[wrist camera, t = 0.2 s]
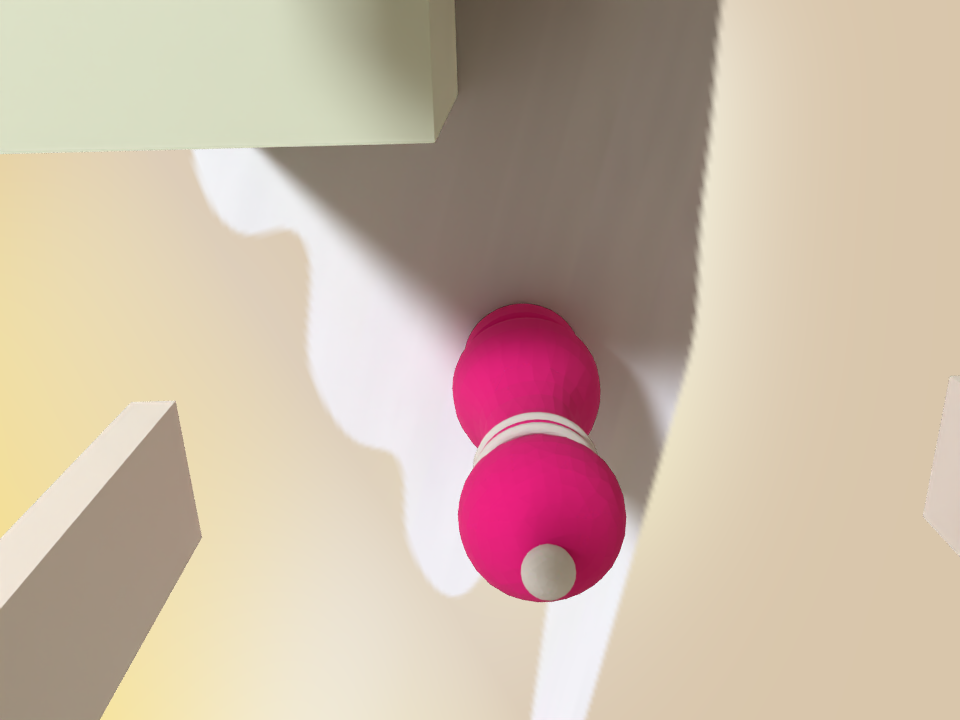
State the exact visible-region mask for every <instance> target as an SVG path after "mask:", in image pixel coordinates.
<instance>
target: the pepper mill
mask: <svg viewBox="0 0 960 720" xmlns="http://www.w3.org/2000/svg"><path fill="white" fill-rule="evenodd" d="M452 389H453V398H454V404H455V409H456V414H457V417H458V420H459V422H460V424H461V426H462V428H463V430H464V431H465V433H466V434H467V436H468V437H469V438H470V440H471V441H472V443H473V444H474V445H475V446H476V447H477V448H478V449H477V451H476V454H475V457H474V462H473V470H472V471H471V473H470V475H469V476H468V478H467V480H466V481H465V484H464V487H463V490H462V493H461V497H460V502H459V510H458V521H459V531H460V535H461V540H462V543H463V546H464V548H465V551H466V554H467V556H468V557H469V559H470V561H471V562H472V564H473V566H474V567H475V569H476V570H477V571H478V572H479V573H480V574H481V575H482V576H483V577H484V578H485V579H486V580H487V582H488V583H489V584H490V585H492V586H494V587H495V588H497V589H499V590H500V591H502V592H504V593H505V594H507V595H509V596H513V597H516V598H519V599H522V600H528V601H534V602H553V601H558V600H563V599H567V598H570V597H572V596H575V595H578V594H580V593H582V592H583V591H585V590H587V589H589V588H590V587H592V586H593V585H595V584H596V583H597V582H598V581H599V580H600V579H602V578H603V576H604V575H605V574H606V573H607V572H608V571H609V570H610V569H611V567H612V566H613V564H614V562H615V560H616V558H617V556H618V554H619V552H620V549H621V546H622V543H623V540H624V536H625V527H626V512H625V504H624V497H623V494H622V491H621V489H620V486H619V484H618V481H617V479H616V477H615V475H614V474H613V472H612V471H611V469H610V468H609V467H608V465H607V464H606V463H605V461H604V460H603V459H601V458H600V457H599V456H598V455H597V452H596V449H595V446H594V444H593V443H592V441H591V439H590V438H589V437H588V435H589V433H590V431H591V429H592V427H593V424H594V422H595V419H596V416H597V413H598V409H599V404H600V383H599V375H598V371H597V366H596V364H595V361H594V359H593V356H592V355H591V353H590V352H589V350H588V348H587V347H586V346H585V344H584V343H583V342H582V341H581V340H580V339H579V338H578V337H577V336H576V335H575V333H574V332H573V330H572V328H571V327H570V326H569V324H568V323H567V322H566V321H565V320H564V319H563V318H562V317H561V316H559V315H558V314H556V313H555V312H553V311H551V310H549V309H547V308H544V307H542V306H538V305H533V304H514V305H508V306H505V307H502V308H499V309H497V310H495V311H493V312H491V313H490V314H488V315H487V316H486V317H484V318H483V319H482V320H481V321H480V322H479V323H478V324H477V325H476V327H475V328H474V329H473V331H472V332H471V334H470V336H469V338H468V341H467V344H466V348H465V350H464V351H463V353H462V354H461V356H460V359H459V361H458V363H457V366H456V368H455V373H454V377H453V388H452Z"/></svg>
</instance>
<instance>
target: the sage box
mask: <svg viewBox="0 0 960 720" xmlns="http://www.w3.org/2000/svg"><path fill="white" fill-rule="evenodd" d="M457 96H458V82H457V52H456V21H455V0H0V154H20V153H58V152H98V151H99V152H100V151H138V150H178V149H220V148H259V147H299V146H339V145H379V144H419V143H435V142H436V140H437V138H438V135H439V133H440V131H441V129H442V127H443V125H444V123H445V121H446V119H447V117H448V115H449V113H450V111H451V109H452V106H453V104H454V102H455V100H456V98H457Z"/></svg>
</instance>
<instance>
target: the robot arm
mask: <svg viewBox="0 0 960 720" xmlns="http://www.w3.org/2000/svg"><path fill="white" fill-rule="evenodd" d="M923 517H924V518H925V519H926V520H927V521H928V523H929V524H930V525H931V526H932V527H933V528H934V529H935V530H936V531H937V532H938V534H939V535H941V537H942V538H943V539H944V540H945V541H946V542H947V543H948V544H949V546H950V547H951V548H952V549H953V550H954V551H955V552H956V553H957V554H958V555H959V557H960V376H950V378H949V383H948V388H947V393H946V398H945V403H944V409H943V414H942V419H941V425H940V430H939V435H938V440H937V445H936V450H935V456H934V461H933V466H932V471H931V477H930V482H929V487H928V492H927V497H926V503H925V508H924V514H923ZM201 538H202V536H201V531H200V525H199V521H198V515H197V510H196V505H195V500H194V494H193V490H192V484H191V479H190V474H189V468H188V463H187V458H186V453H185V447H184V442H183V437H182V432H181V427H180V422H179V416H178V411H177V406H176V401H155V402H131V403H130V404H129V405H128V406H127V407H126V408H125V409H124V410H123V411H122V412H121V413H120V415H118V416H117V418H116V419H115V420H114V421H113V422H112V423H111V424H110V425H109V426H108V427H107V428H106V429H105V430H104V431H103V432H102V433H101V434H100V435H99V436H98V437H97V438H96V439H95V441H93V442H92V444H91V445H90V446H89V447H88V448H87V449H86V450H85V451H84V452H83V453H82V454H81V455H80V456H79V457H78V458H77V459H76V460H75V461H74V462H73V463H72V464H71V466H69V468H68V469H67V470H66V471H65V472H64V473H63V474H62V475H61V476H60V477H59V478H58V479H57V480H56V481H55V482H54V483H53V484H52V485H51V486H50V487H49V488H48V489H47V490H46V491H45V493H44V494H43V495H42V496H41V497H40V498H39V499H38V500H37V501H36V502H35V503H34V504H33V505H32V506H31V507H30V508H29V509H28V510H27V511H26V513H24V515H23V516H22V517H21V518H20V519H19V520H18V521H17V522H16V523H15V524H14V525H13V526H12V527H11V528H10V529H9V530H8V531H7V532H6V533H5V534H4V535H3V536H2V538H1V539H0V720H100V718H101V716H102V715H103V713H104V711H105V709H106V707H107V706H108V704H109V702H110V700H111V699H112V697H113V695H114V693H115V691H116V690H117V688H118V686H119V684H120V682H121V681H122V679H123V677H124V675H125V674H126V672H127V670H128V668H129V666H130V665H131V663H132V661H133V659H134V658H135V656H136V654H137V652H138V650H139V649H140V647H141V645H142V643H143V641H144V640H145V638H146V636H147V634H148V633H149V631H150V629H151V627H152V625H153V624H154V622H155V620H156V618H157V616H158V615H159V613H160V611H161V609H162V608H163V606H164V604H165V602H166V600H167V599H168V597H169V595H170V593H171V592H172V590H173V588H174V586H175V584H176V583H177V581H178V579H179V577H180V575H181V574H182V572H183V570H184V568H185V566H186V564H187V563H188V561H189V559H190V558H191V556H192V554H193V552H194V550H195V549H196V547H197V545H198V543H199V542H200V540H201Z"/></svg>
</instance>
